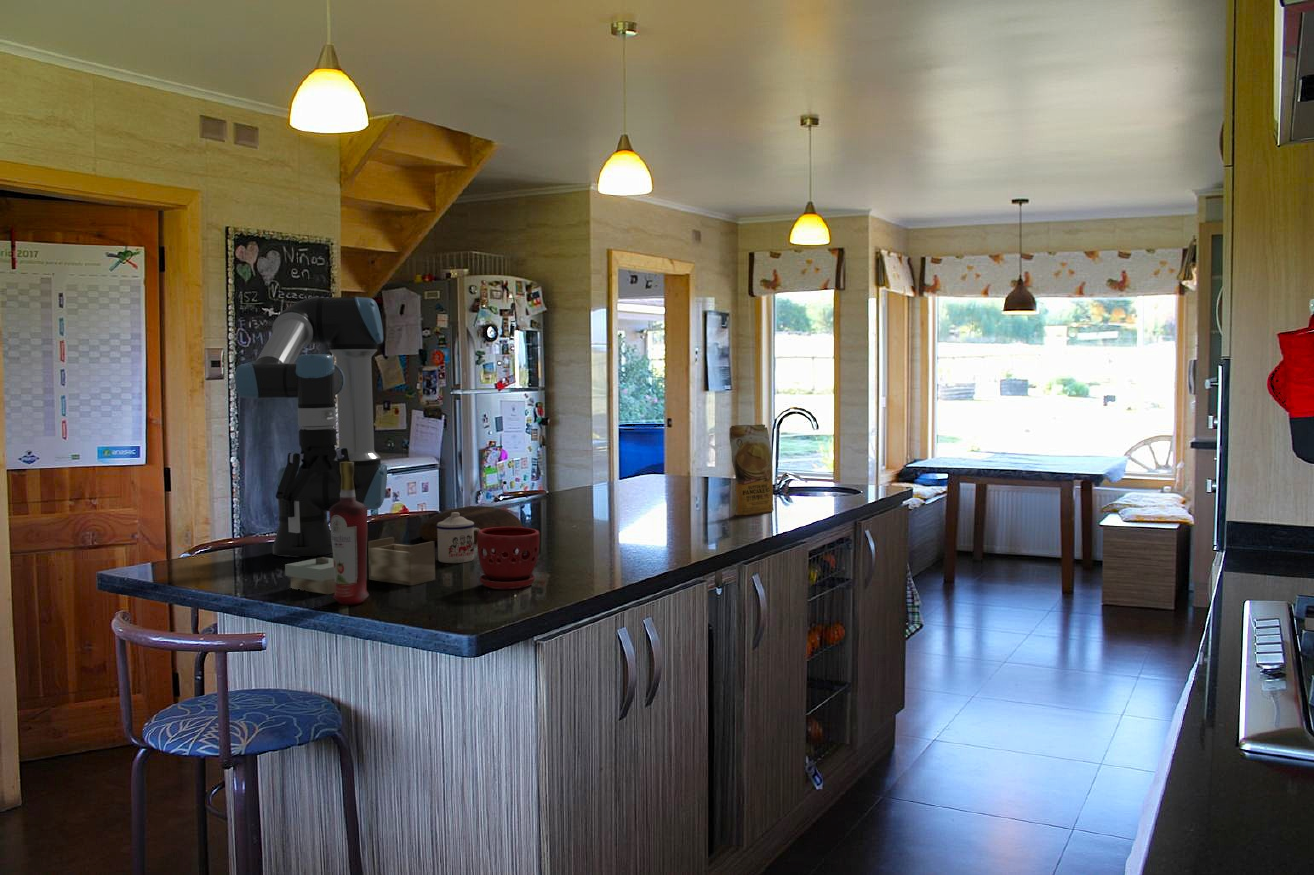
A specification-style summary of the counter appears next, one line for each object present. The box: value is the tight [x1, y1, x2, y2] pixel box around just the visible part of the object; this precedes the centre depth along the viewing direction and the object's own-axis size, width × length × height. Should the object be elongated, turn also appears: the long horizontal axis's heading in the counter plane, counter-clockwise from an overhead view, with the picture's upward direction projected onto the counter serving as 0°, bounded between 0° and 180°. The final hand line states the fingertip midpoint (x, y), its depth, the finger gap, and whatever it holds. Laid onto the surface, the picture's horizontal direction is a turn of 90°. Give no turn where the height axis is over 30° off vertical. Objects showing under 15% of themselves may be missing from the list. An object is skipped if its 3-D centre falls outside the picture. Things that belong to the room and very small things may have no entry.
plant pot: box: [477, 526, 540, 590], centre depth 222 cm, size 13×13×12 cm
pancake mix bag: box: [728, 423, 774, 516], centre depth 329 cm, size 7×19×28 cm, turn 128°
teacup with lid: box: [436, 512, 480, 564], centre depth 254 cm, size 12×9×12 cm
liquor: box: [328, 462, 370, 606], centre depth 207 cm, size 7×7×28 cm
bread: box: [418, 505, 524, 545], centre depth 288 cm, size 28×27×9 cm
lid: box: [284, 556, 335, 581], centre depth 222 cm, size 11×10×3 cm
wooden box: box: [367, 536, 436, 586], centre depth 230 cm, size 13×7×8 cm, turn 57°
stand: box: [289, 576, 335, 595], centre depth 222 cm, size 12×7×3 cm, turn 57°
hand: (321, 527), depth 222 cm, fingers open, 13 cm apart
